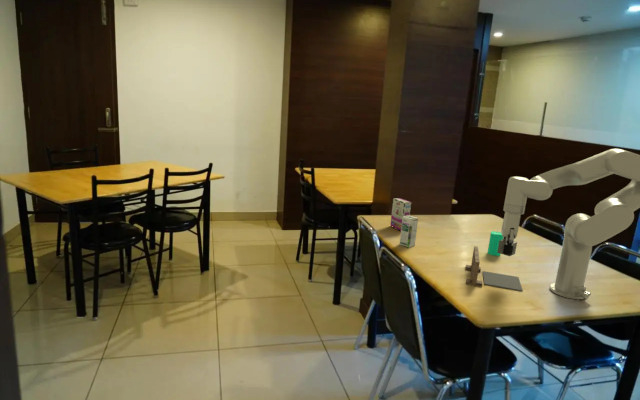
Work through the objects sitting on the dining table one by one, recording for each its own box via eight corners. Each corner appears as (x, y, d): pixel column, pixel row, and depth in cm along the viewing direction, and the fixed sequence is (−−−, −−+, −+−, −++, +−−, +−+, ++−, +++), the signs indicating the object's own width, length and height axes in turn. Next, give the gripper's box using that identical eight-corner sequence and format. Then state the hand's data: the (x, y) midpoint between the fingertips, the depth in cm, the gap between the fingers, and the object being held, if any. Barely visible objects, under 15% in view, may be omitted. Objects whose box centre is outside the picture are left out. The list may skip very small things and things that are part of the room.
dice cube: (515, 253, 170) (517, 242, 169) (509, 256, 167) (511, 244, 166) (502, 250, 174) (504, 238, 173) (497, 252, 170) (499, 240, 169)
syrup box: (398, 244, 211) (401, 216, 207) (405, 242, 215) (408, 214, 211) (408, 247, 207) (411, 219, 203) (415, 245, 211) (418, 217, 208)
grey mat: (518, 278, 178) (518, 276, 178) (522, 291, 165) (522, 290, 165) (482, 272, 182) (482, 271, 182) (484, 284, 169) (484, 283, 169)
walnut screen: (465, 266, 187) (468, 245, 184) (479, 269, 185) (483, 247, 183) (465, 284, 168) (469, 260, 166) (482, 287, 166) (485, 263, 164)
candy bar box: (408, 231, 234) (412, 202, 230) (401, 232, 232) (404, 202, 228) (397, 225, 244) (400, 197, 240) (389, 226, 241) (392, 198, 238)
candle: (501, 256, 203) (505, 232, 200) (488, 254, 204) (492, 231, 201) (499, 252, 209) (503, 228, 206) (486, 250, 210) (490, 227, 207)
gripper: (501, 202, 175) (494, 243, 180) (505, 212, 159) (497, 257, 164) (521, 205, 173) (513, 246, 177) (527, 215, 157) (519, 260, 161)
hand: (506, 251), depth 170 cm, fingers closed on dice cube, 6 cm apart
